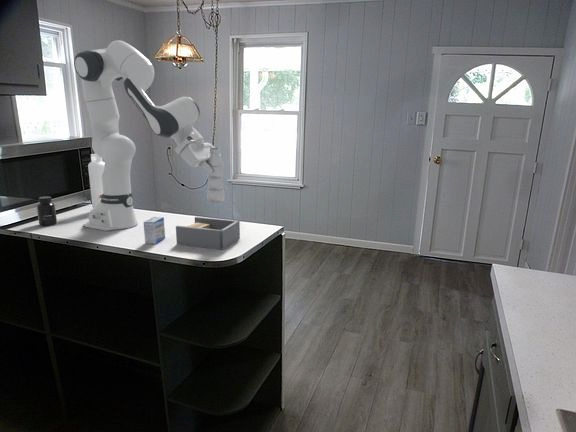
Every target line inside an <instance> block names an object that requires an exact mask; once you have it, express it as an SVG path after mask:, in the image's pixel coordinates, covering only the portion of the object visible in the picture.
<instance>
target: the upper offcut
mask: <svg viewBox="0 0 576 432" xmlns="http://www.w3.org/2000/svg"><path fill="white" fill-rule="evenodd" d="M186 226H187V227H197V228H207V229H210V224H204V223H195V222H194V223H192V224H189V225H186Z"/></svg>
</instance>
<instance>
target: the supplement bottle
mask: <svg viewBox="0 0 576 432" xmlns="http://www.w3.org/2000/svg"><path fill="white" fill-rule="evenodd" d="M36 210H37V219H38V225H39V226H41V227H51V226H54V225H56V224H57V223H58V219H57V210H56V204H55V203H54V202H53V199H52V196H48V195H47V196H40V197H38V204H37V205H36Z"/></svg>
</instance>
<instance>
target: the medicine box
mask: <svg viewBox="0 0 576 432" xmlns="http://www.w3.org/2000/svg"><path fill="white" fill-rule="evenodd" d="M165 230H166V229H165V218H164V216H153V217H150V218H149V219H147V220H145V221H143V232H144V233H143V234H144V244H147V245H148V244H150V245H158V243H160V242H162V241H163V240H165V239H166V231H165Z"/></svg>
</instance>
